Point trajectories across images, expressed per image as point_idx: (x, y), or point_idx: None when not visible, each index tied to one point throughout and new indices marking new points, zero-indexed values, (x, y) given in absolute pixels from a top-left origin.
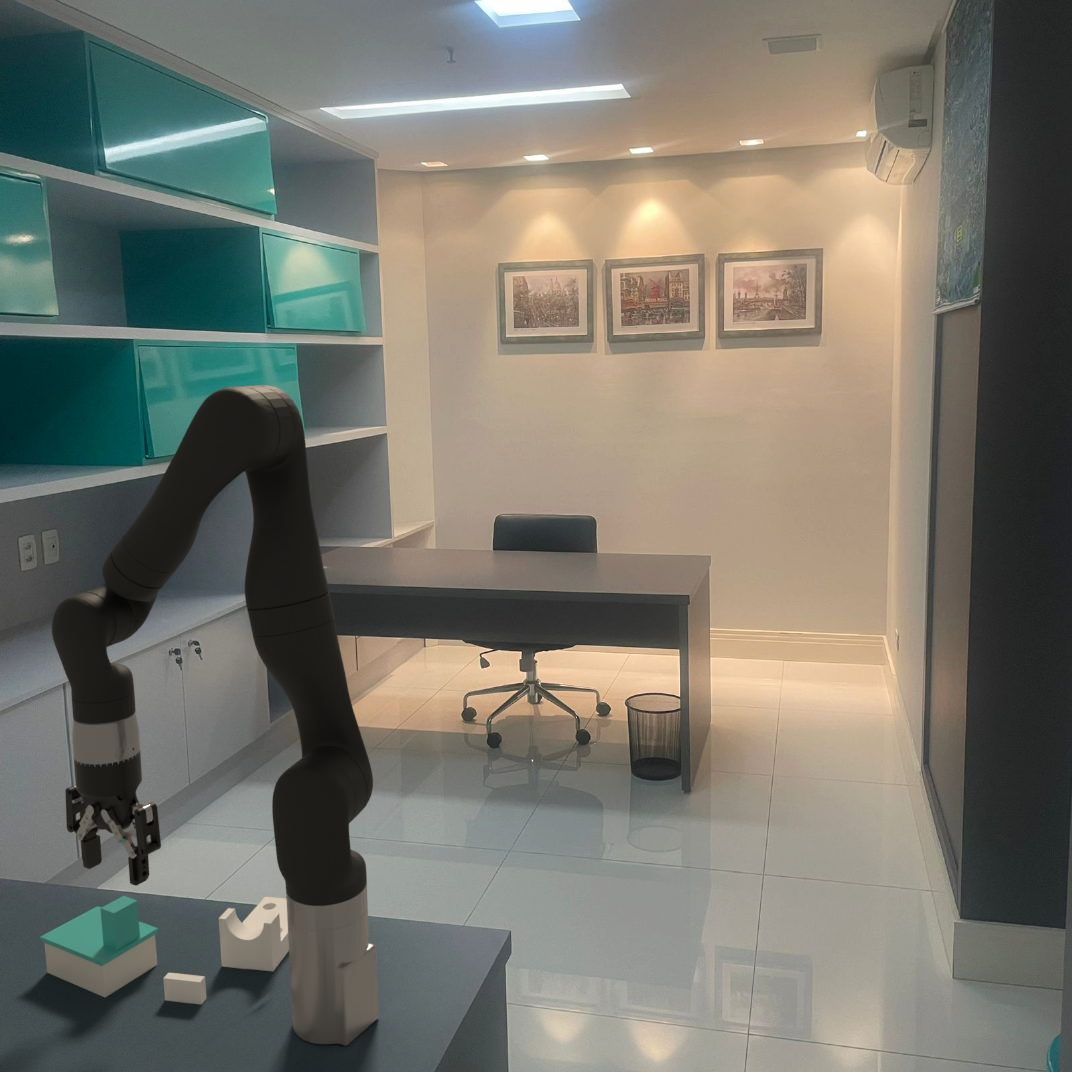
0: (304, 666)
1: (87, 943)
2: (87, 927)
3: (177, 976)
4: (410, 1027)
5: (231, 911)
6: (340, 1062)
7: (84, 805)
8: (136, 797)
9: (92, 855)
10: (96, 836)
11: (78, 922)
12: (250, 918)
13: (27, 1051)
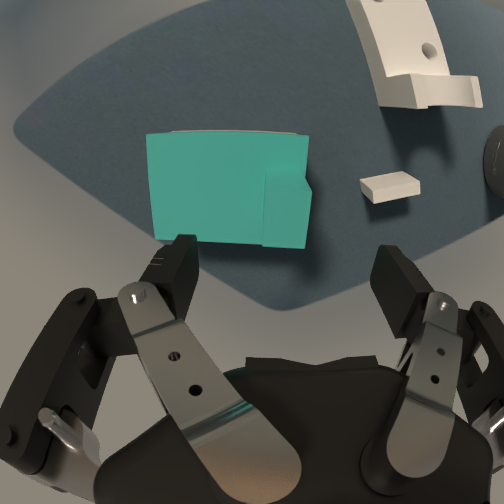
0: None
1: (234, 221)
2: (191, 188)
3: (388, 193)
4: None
5: (421, 82)
6: None
7: (69, 385)
8: (489, 488)
9: (190, 278)
10: (167, 293)
11: (165, 185)
12: (377, 26)
13: (279, 300)
